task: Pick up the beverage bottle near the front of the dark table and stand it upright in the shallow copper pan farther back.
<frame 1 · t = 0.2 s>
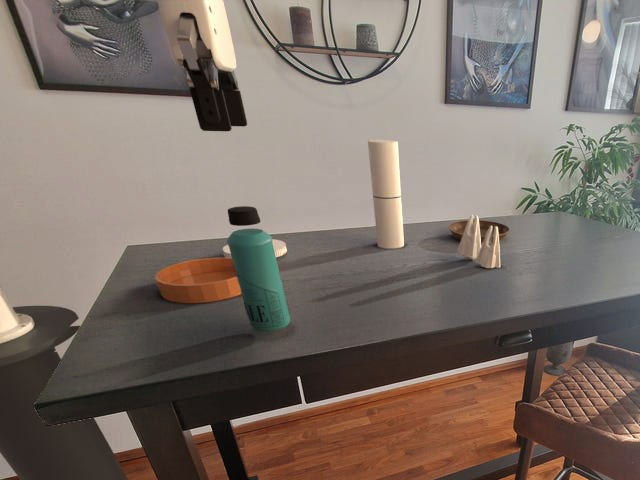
hand: (226, 128, 55), 30 cm above the table, tool pointing down, fingers open, 9 cm apart
shaker set: (478, 263, 110), on the table
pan: (210, 286, 91), on the table
plant saucer: (478, 238, 130), on the table
cylindrical container: (390, 245, 121), on the table
plastic lid: (257, 257, 108), on the table
beverage bottle: (273, 332, 75), on the table
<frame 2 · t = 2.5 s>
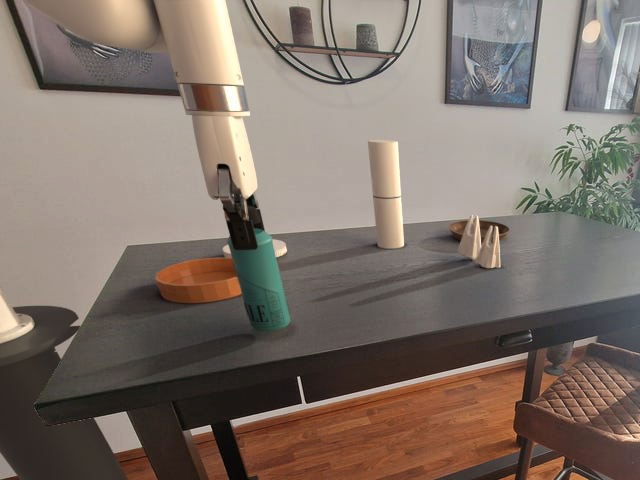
hand: (250, 241, 67), 15 cm above the table, tool pointing down, fingers closed on beverage bottle, 6 cm apart
beverage bottle: (273, 332, 75), on the table, touching gripper
everything else where it was.
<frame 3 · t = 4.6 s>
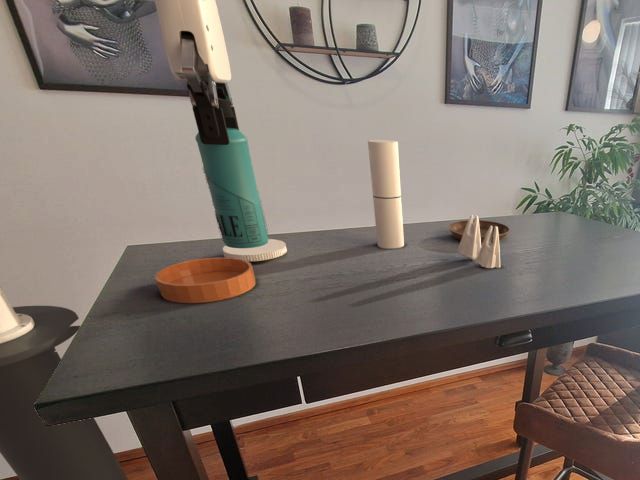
hand: (222, 140, 59), 28 cm above the table, tool pointing down, fingers closed on beverage bottle, 6 cm apart
beverage bottle: (249, 254, 68), point 13 cm above the table, touching gripper
everything else where it was.
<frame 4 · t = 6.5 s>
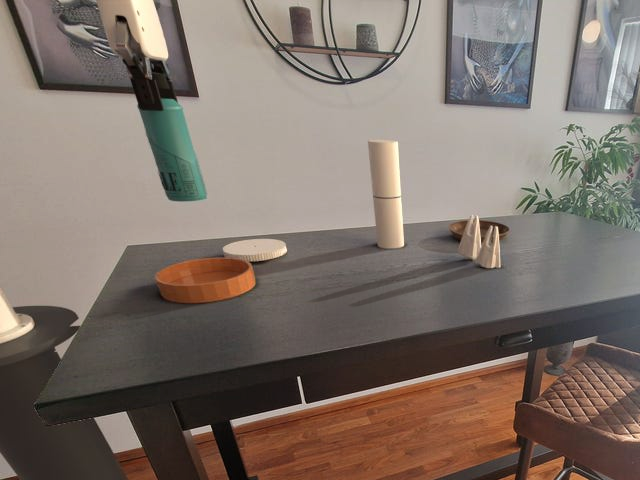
hand: (160, 108, 71), 31 cm above the table, tool pointing down, fingers closed on beverage bottle, 6 cm apart
beverage bottle: (190, 208, 80), point 16 cm above the table, touching gripper
everything else where it was.
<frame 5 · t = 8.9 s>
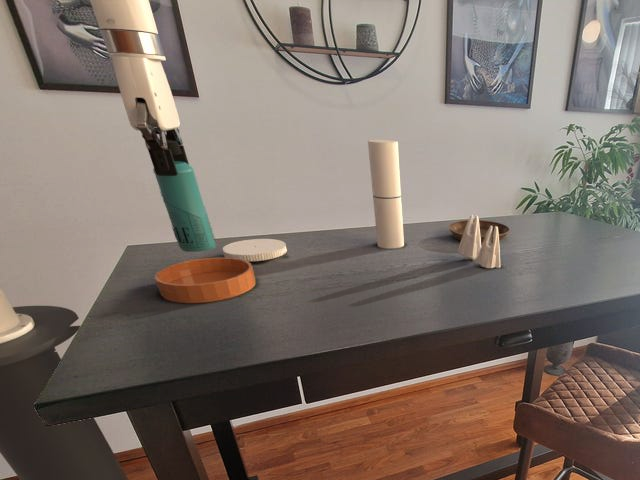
hand: (174, 171, 79), 22 cm above the table, tool pointing down, fingers closed on beverage bottle, 6 cm apart
beverage bottle: (200, 256, 87), point 6 cm above the table, touching gripper
everything else where it was.
when the fingers open (16 cm above the table, at t = 10.8 s): beverage bottle stays where it is, resting on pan.
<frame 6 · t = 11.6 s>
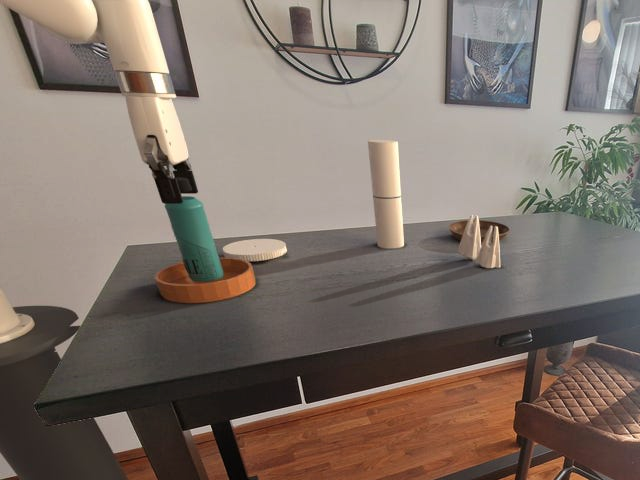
hand: (181, 198, 81), 17 cm above the table, tool pointing down, fingers open, 9 cm apart
beverage bottle: (209, 285, 91), resting on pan
everything else where it was.
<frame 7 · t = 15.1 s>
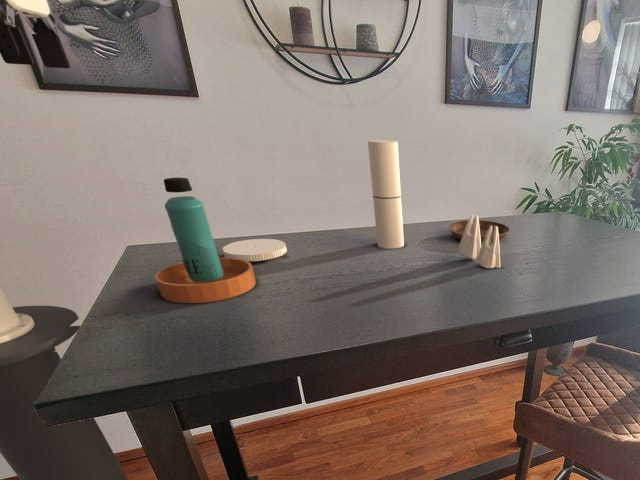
hand: (40, 66, 64), 36 cm above the table, tool pointing down, fingers open, 9 cm apart
nothing on the table moved.
at the end: beverage bottle inside the target area in the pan (0.0 cm from its centre), point 0.4 cm above the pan's base; beverage bottle tilted 0°; the gripper is holding nothing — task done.
